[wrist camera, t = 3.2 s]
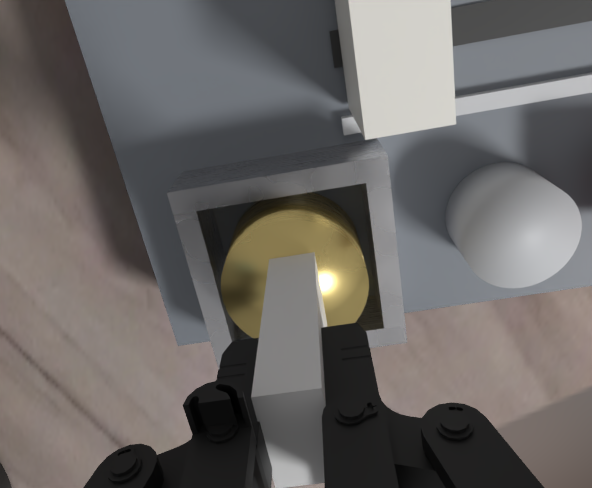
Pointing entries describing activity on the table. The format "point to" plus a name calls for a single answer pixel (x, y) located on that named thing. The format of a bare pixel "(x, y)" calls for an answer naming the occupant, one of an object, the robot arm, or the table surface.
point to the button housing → (279, 183)
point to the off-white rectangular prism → (397, 64)
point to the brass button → (293, 241)
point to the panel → (359, 135)
